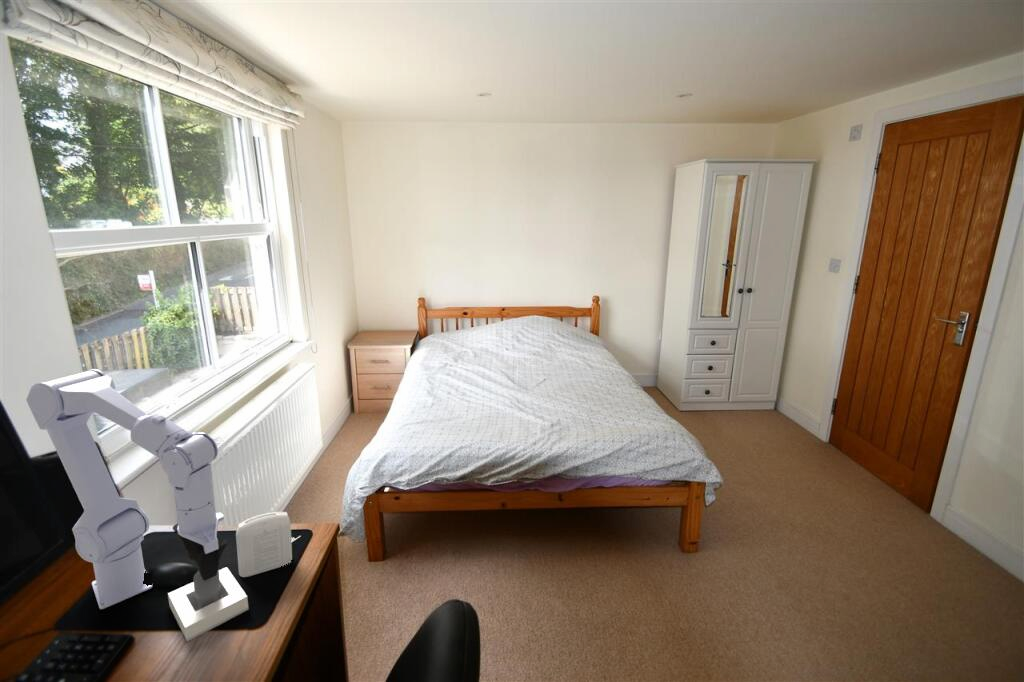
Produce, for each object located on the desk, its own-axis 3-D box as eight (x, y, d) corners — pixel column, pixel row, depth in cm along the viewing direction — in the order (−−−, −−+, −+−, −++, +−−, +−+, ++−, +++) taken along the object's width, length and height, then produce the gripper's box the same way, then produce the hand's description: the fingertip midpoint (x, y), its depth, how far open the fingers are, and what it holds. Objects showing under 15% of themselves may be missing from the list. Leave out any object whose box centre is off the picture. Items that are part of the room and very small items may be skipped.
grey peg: (193, 605, 88) (190, 573, 86) (217, 594, 91) (215, 563, 89) (199, 617, 85) (196, 585, 84) (223, 606, 88) (221, 575, 87)
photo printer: (291, 552, 104) (288, 503, 101) (294, 564, 101) (291, 514, 98) (238, 568, 98) (233, 517, 96) (239, 581, 95) (234, 529, 92)
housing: (169, 606, 88) (167, 593, 87) (228, 579, 95) (226, 566, 95) (187, 641, 81) (185, 627, 80) (248, 609, 88) (247, 596, 88)
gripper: (234, 509, 81) (241, 575, 84) (207, 478, 90) (214, 538, 93) (187, 527, 76) (196, 596, 79) (163, 491, 85) (172, 555, 88)
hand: (202, 566), depth 86 cm, fingers open, 7 cm apart
